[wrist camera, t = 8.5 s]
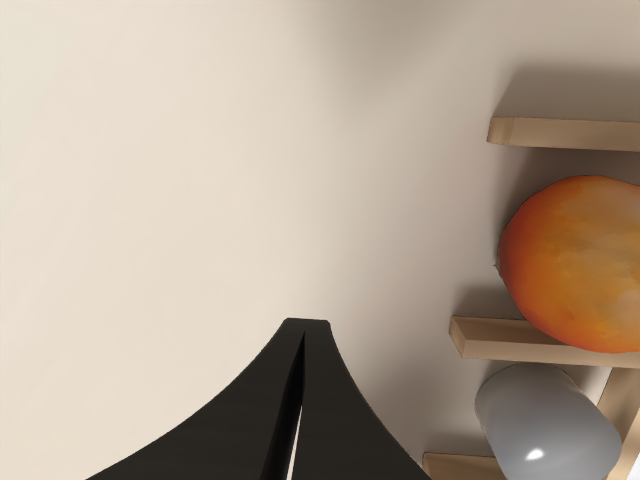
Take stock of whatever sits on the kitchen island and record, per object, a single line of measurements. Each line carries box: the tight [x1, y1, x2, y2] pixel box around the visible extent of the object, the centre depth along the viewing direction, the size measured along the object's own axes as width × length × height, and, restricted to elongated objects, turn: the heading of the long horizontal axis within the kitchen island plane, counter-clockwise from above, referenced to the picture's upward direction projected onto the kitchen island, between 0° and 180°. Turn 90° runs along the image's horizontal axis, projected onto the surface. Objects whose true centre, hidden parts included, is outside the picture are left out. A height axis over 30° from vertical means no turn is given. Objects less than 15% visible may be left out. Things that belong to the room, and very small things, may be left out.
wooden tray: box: [422, 117, 640, 480], centre depth 20 cm, size 24×12×2 cm, turn 178°
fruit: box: [493, 175, 640, 354], centre depth 17 cm, size 8×8×8 cm
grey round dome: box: [475, 363, 622, 480], centre depth 22 cm, size 7×7×4 cm
